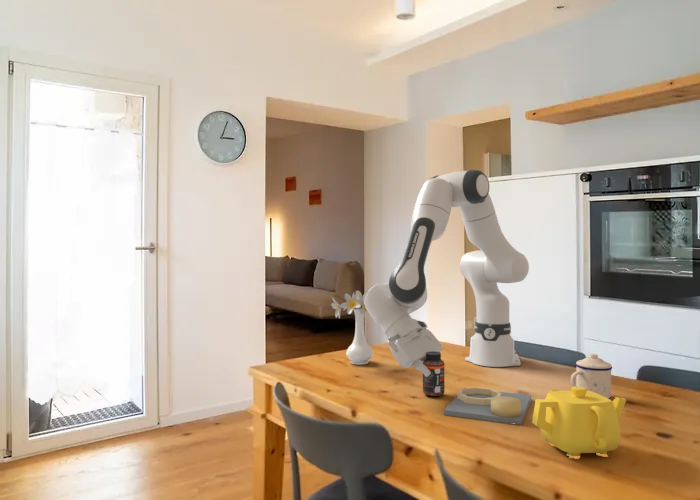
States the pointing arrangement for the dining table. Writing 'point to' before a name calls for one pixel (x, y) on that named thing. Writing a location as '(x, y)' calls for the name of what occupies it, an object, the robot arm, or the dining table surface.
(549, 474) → the dining table surface
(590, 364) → the teacup with lid
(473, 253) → the robot arm
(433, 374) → the supplement bottle
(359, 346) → the flower vase
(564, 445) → the teapot
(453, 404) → the carrier plate
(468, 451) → the dining table surface
